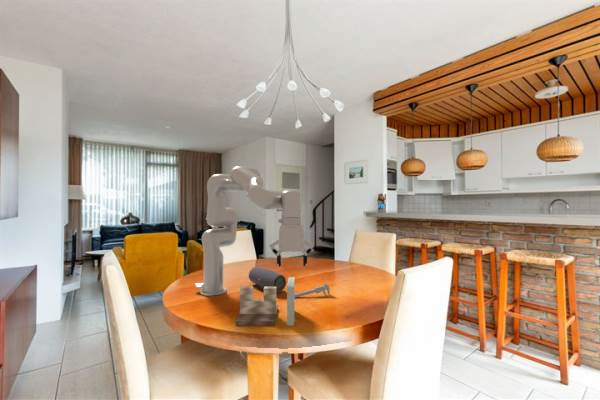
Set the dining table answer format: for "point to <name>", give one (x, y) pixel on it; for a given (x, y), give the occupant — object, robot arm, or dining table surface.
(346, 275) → the dining table surface
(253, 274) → the bluetooth speaker
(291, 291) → the slotted plate
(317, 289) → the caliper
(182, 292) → the dining table surface
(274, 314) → the slotted stand
